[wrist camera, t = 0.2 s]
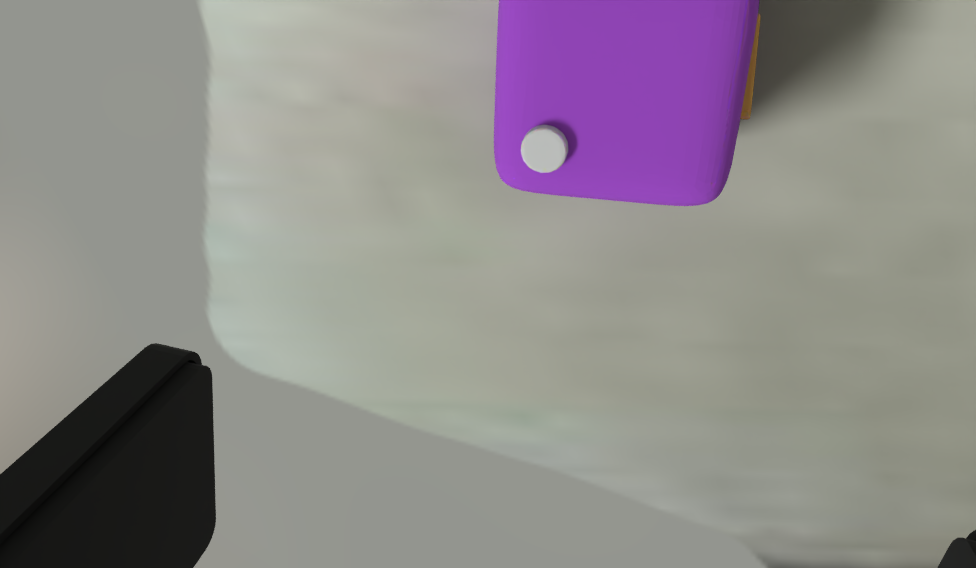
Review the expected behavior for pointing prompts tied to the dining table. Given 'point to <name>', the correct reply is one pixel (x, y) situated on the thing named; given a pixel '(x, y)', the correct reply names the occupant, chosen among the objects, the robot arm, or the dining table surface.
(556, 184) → the toy camera
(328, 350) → the dining table surface
